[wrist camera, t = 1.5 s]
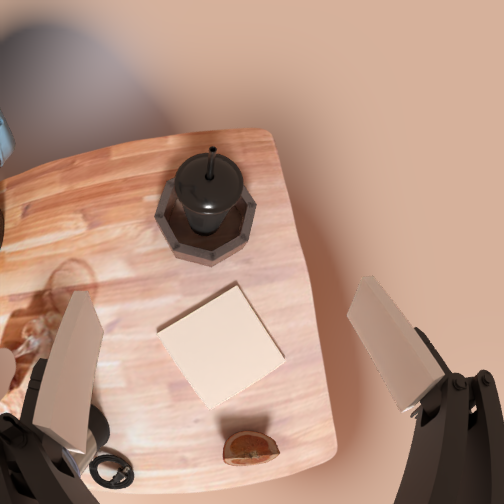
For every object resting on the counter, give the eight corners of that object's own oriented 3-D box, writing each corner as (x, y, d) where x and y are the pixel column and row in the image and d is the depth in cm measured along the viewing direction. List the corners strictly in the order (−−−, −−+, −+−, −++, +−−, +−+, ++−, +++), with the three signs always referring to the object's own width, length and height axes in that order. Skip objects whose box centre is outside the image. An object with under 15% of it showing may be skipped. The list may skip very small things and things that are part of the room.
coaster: (157, 333, 37) (156, 333, 36) (236, 285, 40) (237, 285, 40) (209, 409, 36) (209, 410, 35) (285, 360, 39) (286, 361, 39)
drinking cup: (236, 234, 42) (269, 173, 23) (190, 252, 40) (184, 199, 21) (218, 192, 43) (236, 110, 24) (173, 208, 41) (160, 130, 22)
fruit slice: (272, 425, 37) (281, 438, 32) (270, 457, 35) (279, 471, 30) (220, 428, 35) (223, 441, 30) (220, 460, 34) (224, 475, 29)
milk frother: (71, 387, 32) (24, 413, 17) (154, 439, 33) (139, 490, 18) (52, 441, 28) (14, 475, 13) (127, 488, 29) (111, 537, 14)
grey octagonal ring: (148, 206, 40) (142, 194, 36) (220, 170, 44) (223, 154, 39) (188, 280, 39) (187, 276, 34) (263, 236, 43) (271, 227, 38)
